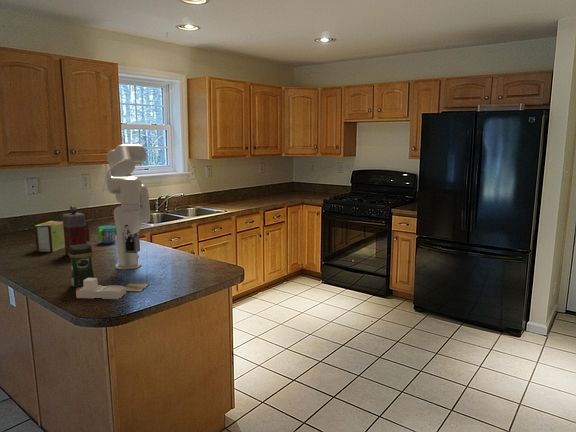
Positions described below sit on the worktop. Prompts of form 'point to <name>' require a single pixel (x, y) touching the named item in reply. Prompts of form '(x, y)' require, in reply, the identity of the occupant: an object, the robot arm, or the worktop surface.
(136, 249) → the block
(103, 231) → the snack cup
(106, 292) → the power strip
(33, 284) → the worktop surface
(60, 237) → the protein box
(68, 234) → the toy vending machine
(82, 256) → the coffee jar
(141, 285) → the coaster
